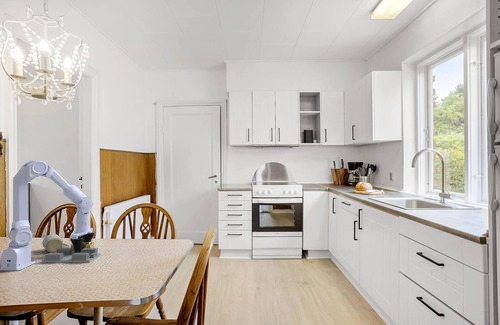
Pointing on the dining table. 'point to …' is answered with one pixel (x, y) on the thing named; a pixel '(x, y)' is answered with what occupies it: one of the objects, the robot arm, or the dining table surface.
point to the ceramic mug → (53, 243)
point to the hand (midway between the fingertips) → (82, 250)
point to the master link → (84, 245)
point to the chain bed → (72, 256)
